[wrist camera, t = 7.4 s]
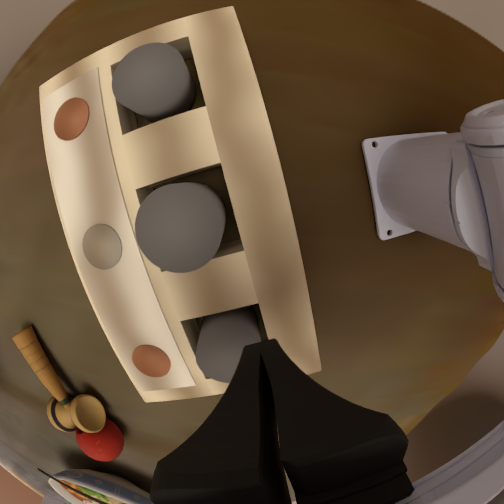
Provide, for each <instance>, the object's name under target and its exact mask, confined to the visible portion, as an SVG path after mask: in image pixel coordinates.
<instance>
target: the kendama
mask: <svg viewBox="0 0 504 504" xmlns="http://www.w3.org/2000/svg"><path fill="white" fill-rule="evenodd" d="M12 339H13V340H14V342H15V344H16V345H17V347H18V348H19V349H20V351H21V353H22V354H23V356H24V357H25V359H26V360H27V362H28V363H29V364H30V366H31V368H32V369H33V371H34V372H35V374H36V375H37V376H38V378H39V379H40V381H41V382H42V383H43V384H44V386H45V387H46V388H47V389H48V390H49V392H50V393H51V394H52V395H53V396H54V397H52V398H51V399H50V400H49V402H48V405H47V415H48V418H49V420H50V422H51V423H52V424H53V426H54V427H56V428H57V429H59V430H61V431H64V432H74V431H76V439H77V442H78V445H79V447H80V448H81V450H82V451H83V452H84V453H85V454H86V455H88V456H89V457H91V458H93V459H95V460H98V461H111V460H114V459H115V458H117V457H118V456H119V455H120V454H121V452H122V450H123V447H124V438H123V435H122V433H121V431H120V429H119V428H118V426H117V425H116V424H115V423H114V422H112V421H111V420H109V419H108V418H106V414H105V410H104V407H103V405H102V404H101V402H100V401H99V400H98V399H97V398H96V397H94V396H92V395H88V394H81V395H78V396H76V397H75V398H74V399H72V398H71V397H69V396H68V394H67V392H66V390H65V389H64V387H63V385H62V383H61V381H60V379H59V378H58V376H57V374H56V372H55V371H54V369H53V367H52V365H51V364H50V363H49V360H48V358H47V357H46V355H45V353H44V351H43V349H42V347H41V345H40V343H39V341H38V340H37V337H36V335H35V332H34V330H33V328H32V326H29V327H27V328H25V329H24V330H22V331H21V332H19V333H17V334H16V335H14V336H13V337H12Z"/></svg>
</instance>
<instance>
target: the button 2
mask: <svg viewBox="0 0 504 504" xmlns="http://www.w3.org/2000/svg"><path fill="white" fill-rule="evenodd" d="M225 224H226V209H225V205H224V202H223V200H222V198H221V197H220V195H219V194H218V193H217V192H216V191H215V190H214V189H213V188H211V187H209V186H208V185H205V184H203V183H199V182H185V183H175V184H169V185H165V186H162V187H160V188H158V189H156V190H154V191H153V192H152V193H150V194H149V195H148V196H147V197H146V198H145V200H144V201H143V202H142V204H141V206H140V207H139V210H138V212H137V216H136V220H135V234H136V239H137V242H138V245H139V247H140V249H141V251H142V252H143V254H144V255H145V256H146V258H147V259H148V260H149V261H150V262H152V263H153V264H154V265H156V266H157V267H159V268H161V269H163V270H166V271H169V272H173V273H186V272H191V271H194V270H197V269H199V268H201V267H202V266H204V265H206V264H207V263H208V262H209V261H210V260H211V259H212V258H213V257H214V255H215V254H216V252H217V250H218V248H219V246H220V243H221V240H222V236H223V232H224V228H225Z"/></svg>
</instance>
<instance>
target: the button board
mask: <svg viewBox="0 0 504 504" xmlns="http://www.w3.org/2000/svg"><path fill="white" fill-rule="evenodd" d="M148 43H165V44H169V45H171V46H173V47H174V48H176V49H177V50H178V51H179V52H180V54H181V56H182V57H183V60H186V59H189V58H193V57H194V61H195V65H196V69H197V73H198V77H199V81H200V85H201V89H202V93H203V97H204V100H205V104H206V106H204V107H201V108H197V109H194V110H191V111H187V112H184V113H181V114H178V115H175V116H172V117H169V118H166V119H163V120H160V121H157V122H155V123H152V124H149V125H147V126H144V127H141V128H139V129H138V127H137V122H136V117H135V112H134V111H132V110H131V109H129V108H127V107H125V106H124V105H122V104H121V103H119V102H118V100H117V99H116V98H115V96H114V94H113V91H112V77H113V74H114V71H115V69H116V67H117V65H118V64H119V62H120V61H121V60H122V59H123V58H124V57H125V56H126V55H127V54H128V53H129V52H130V51H132V50H133V49H135V48H137V47H139V46H141V45H144V44H148ZM39 92H40V109H41V120H42V130H43V138H44V145H45V151H46V158H47V163H48V169H49V174H50V179H51V183H52V188H53V192H54V196H55V201H56V205H57V208H58V212H59V216H60V219H61V223H62V226H63V230H64V233H65V236H66V239H67V242H68V245H69V248H70V251H71V254H72V257H73V260H74V263H75V265H76V268H77V271H78V273H79V276H80V279H81V281H82V284H83V286H84V288H85V291H86V293H87V296H88V298H89V300H90V303H91V305H92V307H93V309H94V311H95V314H96V316H97V318H98V320H99V322H100V324H101V326H102V328H103V330H104V332H105V334H106V336H107V338H108V340H109V342H110V344H111V346H112V348H113V350H114V351H115V353H116V355H117V357H118V359H119V360H120V362H121V364H122V366H123V367H124V369H125V371H126V372H127V374H128V376H129V378H130V379H131V381H132V382H133V384H134V386H135V387H136V389H137V390H138V392H139V393H140V395H141V397H142V398H143V400H144V401H145V402H158V401H169V400H179V399H188V398H196V397H203V396H210V395H217V394H223V393H225V391H226V389H227V387H228V385H229V383H224V382H219V381H216V380H213V379H211V378H210V377H208V376H206V375H205V374H204V373H203V372H202V371H201V370H200V368H199V367H198V365H197V362H196V349H197V344H198V340H199V335H200V329H199V327H198V324H197V321H196V319H195V318H197V317H202V316H206V315H211V314H215V313H219V312H224V311H228V310H232V309H236V308H241V307H245V306H249V305H253V304H257V303H259V307H260V310H261V314H262V318H263V321H264V325H265V329H266V332H267V336H268V339H269V340H270V339H273V338H275V339H276V340H278V343H279V344H280V346H281V348H282V349H283V350H284V352H285V353H286V354H287V355H288V357H289V358H290V359H291V360H292V361H293V362H294V363H295V364H296V365H297V366H298V367H299V368H300V369H301V370H302V371H303V372H304V373H305V374H307V375H308V374H311V373H315V372H318V371H321V364H320V357H319V351H318V345H317V339H316V333H315V327H314V321H313V315H312V309H311V304H310V298H309V293H308V288H307V283H306V277H305V272H304V267H303V262H302V257H301V253H300V248H299V243H298V238H297V234H296V229H295V224H294V220H293V216H292V211H291V207H290V202H289V198H288V194H287V190H286V185H285V181H284V177H283V173H282V169H281V165H280V161H279V157H278V153H277V149H276V146H275V142H274V138H273V134H272V131H271V127H270V123H269V120H268V116H267V112H266V109H265V105H264V102H263V98H262V95H261V91H260V88H259V85H258V81H257V78H256V75H255V71H254V68H253V65H252V62H251V58H250V55H249V52H248V49H247V46H246V43H245V40H244V37H243V34H242V31H241V28H240V25H239V22H238V19H237V16H236V13H235V10H234V8H233V6H231V7H226V8H220V9H216V10H211V11H207V12H203V13H199V14H195V15H191V16H187V17H184V18H180V19H177V20H174V21H170V22H167V23H164V24H161V25H158V26H156V27H153V28H150V29H147V30H145V31H142V32H139V33H137V34H134V35H132V36H130V37H127V38H125V39H123V40H120V41H118V42H116V43H114V44H112V45H110V46H107V47H105V48H103V49H101V50H99V51H97V52H95V53H93V54H92V55H90V56H88V57H86V58H84V59H82V60H81V61H79V62H77V63H75V64H74V65H72V66H70V67H69V68H67V69H65V70H64V71H62V72H60V73H59V74H57V75H56V76H54V77H53V78H51V79H50V80H48V81H47V82H45V83H44V84H42V85H41V86H40V87H39ZM220 166H222V169H223V173H224V177H225V181H226V185H227V188H228V192H229V196H230V200H231V203H232V207H233V211H234V215H235V218H236V222H237V226H238V230H239V233H240V237H241V239H238V240H234V241H230V242H226V243H223V244H220V246H219V248H218V250H217V252H216V254H215V255H214V257H213V258H212V259H211V260H210V261H209V262H208V263H207V264H206V265H204V266H202V267H201V268H199V269H197V270H194V271H191V272H186V273H173V272H169V271H166V270H163V269H161V268H159V267H157V266H156V265H154V264H153V263H152V262H150V261H149V260H148V259H147V258H146V256H145V255H144V254H143V252H142V251H141V249H140V247H139V245H138V242H137V239H136V234H135V220H136V216H137V212H138V210H139V207H140V206H141V204H142V202H143V201H144V200H145V198H146V197H147V196H148V195H149V194H150V193H152V192H153V188H152V187H154V186H157V185H160V184H163V183H166V182H169V181H172V180H175V179H179V178H182V177H185V176H188V175H192V174H195V173H198V172H202V171H205V170H209V169H212V168H216V167H220Z"/></svg>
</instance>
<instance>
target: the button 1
mask: <svg viewBox="0 0 504 504" xmlns="http://www.w3.org/2000/svg"><path fill="white" fill-rule="evenodd" d="M112 91H113V94H114V96H115V98H116V99H117V100H118V102H119V103H121V104H122V105H124V106H125V107H127V108H129V109H131V110H132V111H134V112H136V113H137V114H139V115H141V116H142V117H144V118H146V119H147V120H149V121H152V122H157V121H160V120H163V119H166V118H169V117H172V116H175V115H178V114H181V113H184V112H187V111H188V110H189V108H190V107H191V106H192V104H193V102H194V99H195V94H196V87H195V83H194V81H193V79H192V77H191V74H190V72H189V70H188V68H187V66H186V64H185V62H184V60H183V57H182V56H181V54H180V52H179V51H178V50H177V49H176V48H174V47H173V46H171V45H169V44H165V43H148V44H144V45H141V46H139V47H137V48H135V49H133V50H132V51H130V52H129V53H128V54H127V55H126V56H125V57H124V58H123V59H122V60H121V61H120V62H119V64H118V65H117V67H116V69H115V71H114V74H113V77H112Z"/></svg>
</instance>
